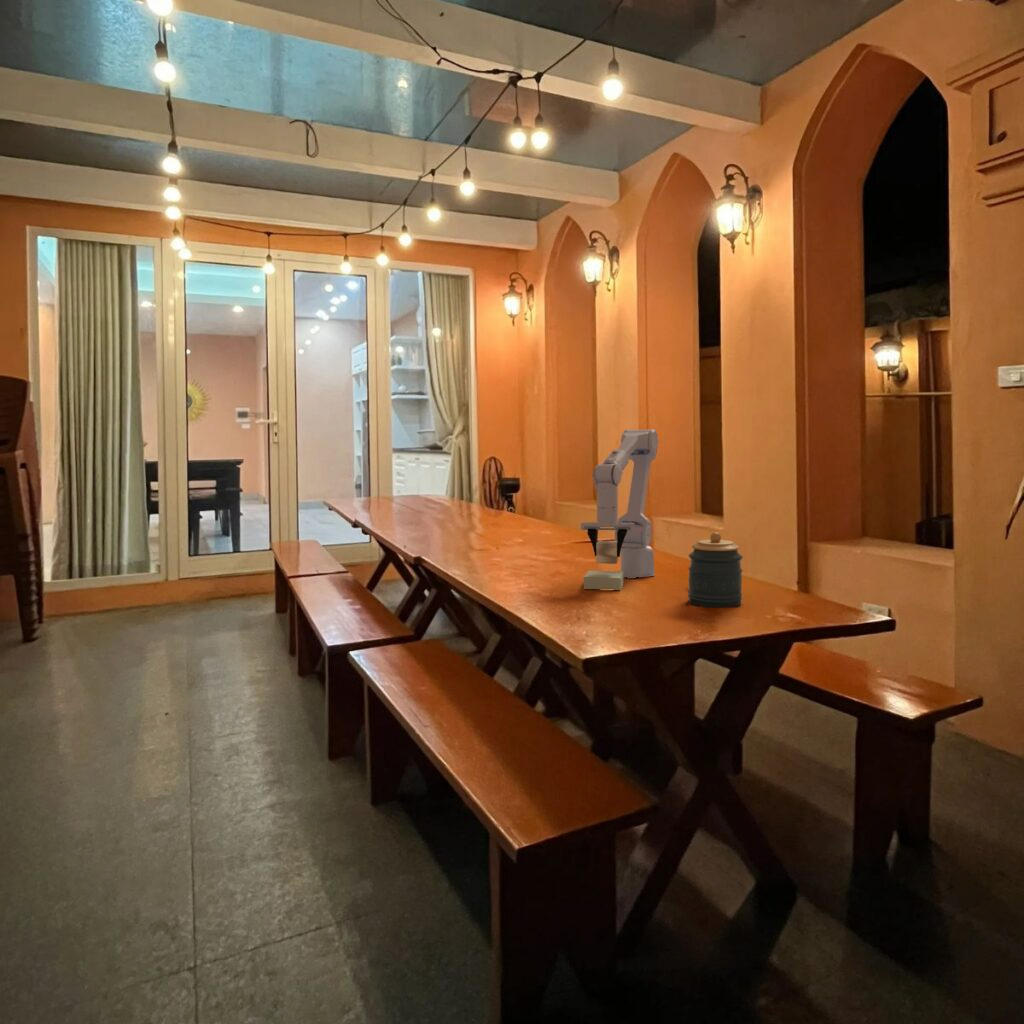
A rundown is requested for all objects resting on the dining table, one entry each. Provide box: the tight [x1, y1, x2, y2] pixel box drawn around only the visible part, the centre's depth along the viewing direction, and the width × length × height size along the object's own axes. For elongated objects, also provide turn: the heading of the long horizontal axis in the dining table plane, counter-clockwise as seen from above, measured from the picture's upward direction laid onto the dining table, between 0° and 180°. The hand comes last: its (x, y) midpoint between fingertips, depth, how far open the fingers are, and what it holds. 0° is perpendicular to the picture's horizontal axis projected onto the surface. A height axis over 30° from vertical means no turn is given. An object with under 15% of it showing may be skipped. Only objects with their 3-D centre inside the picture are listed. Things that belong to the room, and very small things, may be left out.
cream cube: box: [595, 540, 619, 565], centre depth 202 cm, size 6×6×6 cm
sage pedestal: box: [583, 570, 625, 591], centre depth 203 cm, size 10×10×4 cm
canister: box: [687, 531, 743, 609], centre depth 181 cm, size 13×13×18 cm
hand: (607, 556), depth 203 cm, fingers closed on cream cube, 5 cm apart
